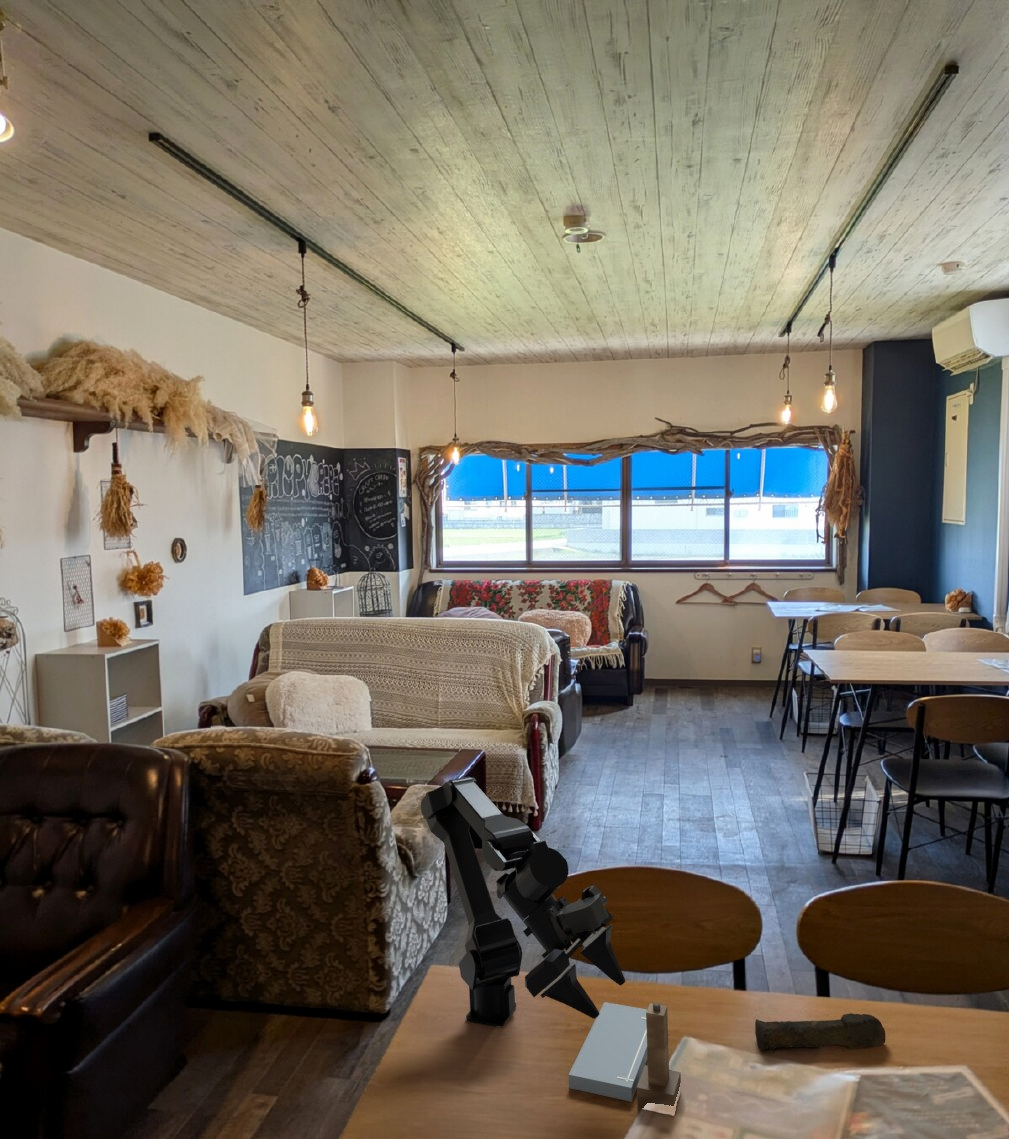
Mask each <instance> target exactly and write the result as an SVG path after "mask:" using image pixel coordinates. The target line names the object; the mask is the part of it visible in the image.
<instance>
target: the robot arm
mask: <svg viewBox="0 0 1009 1139" xmlns="http://www.w3.org/2000/svg"><path fill="white" fill-rule="evenodd" d="M420 811H421V814H422V817H423V819H424V820H426V823H427V825H428V827H429V828H428V829H429V831H430V833H432V834H433V835H434V837H436V838H438V839H439V840H440V841H441V842H442V843H443V845H444V848H445V852H446V855H447V857H448V858H447V859H448V862H449V864H450V867H451V872H452V874H453V878H454V881H455V884H456V887H457V890H458V893H459V894H458V895H459V897H460V901H461V903H462V907H463V910H464V912H465V913H464V914H465V916H466V920H467V923H468V929H467V933H466V938H465V942H464V947H465V952H466V953H465V955H464V956H463V957H462V959H461V960H460V961H459V963H458V968H459V974H460V978H461V979H462V980H463V981H464V983H465V984H467V986H468V992H469V1011H468V1013H466V1016H465V1020H466V1019H467V1020H466V1021H468V1020H469V1021H470V1022H474V1023H479V1024H483V1025H491V1026H495V1027H499V1028H500V1027H501V1028H502V1027H504V1025H505V1024H506V1022H507V1021H508V1020H509V1018H511V1016H512V1014H513V1013H514V1011H515V1009H516V1008H517V1002H516V995H515V985H514V984H512V978H514V977H519V976H520V972H521V965H522V959H523V950H522V949H523V948H522V946H521V945H520V942H519V940H518V939H517V937H516V934H515V931H514V927H513V923H512V922H511V920H510V919H509V918H507V917H505V918H503V917H501V916H500V915H499V914H498V913H497V912H496V909H495V906H494V904H493V900H492V897H491V894H490V891H489V888H488V885H487V882H486V878H485V875H484V872H483V870H482V867H481V864H480V861H479V858H478V854H477V852H476V848H475V846H474V841H473V839H472V836H471V833H470V827H471V828H472V829H473V830H474V831H475V833H477V835H478V837H479V838H480V840H481V841H482V846H481V853H482V855H483V857H484V861H485V862H486V864H487V865H489V867H490V868H491V869H492V870H493V871H495V872H498V871H499V872H503V871H508V870H512V869H514V870H513V871H512V872H510V873H507V872H504V873H503V874H502V875H501V876H500V877H499V878H498V879H496V880H495V882H496V896H497V898H498V899H499V900H501V899H502V898H504V899H505V901H506V902H507V903H508V904H509V905H510V907H511V908H512V909H513V911H514V913H516V915H517V916H518V917H519V918H520V920H521V921H522V922H523V924H524V925H525V927H526V928H525V929H523V931H522V932H523V934H524V935H525V936H526V937H527V938H529V937H530V935H533V936H534V938H535V939H536V940H537V941H538V943H539V944H540V946H541V947H542V948H543V949H544V950H545V951H544V953H542V954H541V957H542V958H543V959H541V961H539V962H538V963H537V964H536V965H535V966H534V967H533V968H532V969H531V970H530V971H529V972H528V973H527V974H526V975H525V976H524V987H525V988H526V989H527V991H528V992H529V993H530V994H531V996H532V997H533V998H536V997H537V996H538V995H540V997H541V998H543V999H544V998H546V997H547V998H549V999H551V1000H555V1001H556V1002H559V1003H561V1004H564V1005H566V1006H567V1007H570V1008H572V1009H574V1010H576V1011H578V1012H580V1013H581V1014H584V1015H585V1016H588V1017H590V1018H592V1019H593V1020H596V1018H597V1017H598V1016H599V1012H600V1010H598V1008H597V1007H596V1005H595V1003H594V1001H593V1000H592V999H591V997H590V995H589V994H588V992H586V990H585V988H584V987H583V986H582V984H581V983H580V981H579V980H578V978H577V967H576V963H575V964H574V963H573V965H572V966H571V963H570V957H571V956H573V955H574V953H575V952H577V951H578V950H579V948H582V947H583V949H582V950H581V951H580V952H579V953H580V954H581V955H582V956H583V957H584V958H586V959H587V960H588V961H589V962H591V964H593V965H594V966H595V967H596V968H597V969H598V970H600V971H601V972H602V973H603V974H604V975H606V976H607V978H609V979H611V980H612V981H613V982H614V983H615V984H618V986H622V985H624V984H625V983H626V978H625V976H624V973H623V971H622V969H621V967H620V963H619V961H618V959H617V956H616V954H615V951H614V950H613V949H614V948H613V946H612V943H611V936H612V935H611V934H612V929H613V924H612V923H610V922H611V921H612V920H613V919H614V917H613V915H612V914H611V913H610V912H609V910H608V909H607V908H606V907H605V906H606V904H608V898H607V897H606V896H605V895H604V894H603V892H601V891H600V890H599V888H597V887H596V885H591V886H587V887H586V888H585V889H583V891H581V898H578V900H576V901H575V902H569V901H568V900H567V898H566V897H563V896H562V895H561V896H560V897H559V898H558V899H557V898H556V897H555V895H554V893H555V892H556V891H557V890H558V889H559V888H560V887H561V886H562V885H563V884H565V882H566V881H567V880H568V876H569V864H568V861H567V859H566V857H565V858H564V855H563V854H562V853H560V851H558V850H556V849H554V848H552V847H549V846H548V843H547V841H546V839H542V840H540V838H539V837H538V836H537V835H536V833H534V831H532V829H531V828H530V827H529V826H528V825H527V824H525V823H524V822H523V821H521V820H520V819H519V818H513V817H511V816H506V815H504V814H503V812H501V811H500V809H499V808H498V807H497V806H496V805H495V804H494V803H493V802H492V800H491V799H490V798H489V797H488V796H487V795H486V793H485V792H483V790H482V789H481V788H480V787H479V785H478V782H477V779H476V778H475V777H473V776H472V777H471V776H465V777H459V778H453V779H449V780H448V781H446V782H444V783H443V785H441V786H439V787H437V788H435V789H433V790H428V791H426V793H425V796H423V797H422V799H421V802H420ZM608 924H610V925H608ZM607 925H608V926H607ZM541 992H542V993H541Z"/></svg>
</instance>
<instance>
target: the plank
mask: <svg viewBox="0 0 1009 1139" xmlns="http://www.w3.org/2000/svg"><path fill="white" fill-rule="evenodd" d="M646 1012H647V1009H644V1008H639V1007H634V1006H628V1005H625V1004H624V1005H623V1004H616V1003H612V1002H606V1001H604V1002H603V1004H602V1007H601V1008H600V1010H599V1016H598V1017H597V1018H595V1019H594V1022H593V1024H592V1026H591V1029H590V1030H589V1032H588V1034H587V1037H586V1039H585V1040H584V1042H583V1045H582V1047H581V1048H580V1050H579V1052H578V1054H577V1057H576V1059H575V1061H574V1063H573V1065H572V1067H571V1069H570V1071H569V1073H568V1089H571V1090H576V1091H582V1092H585V1093H589V1094H590V1093H591V1094H594V1095H595V1094H596V1095H600V1096H604V1097H609V1098H613V1099H617V1100H621V1101H622V1100H623V1101H626V1102H632V1103H633V1100H634V1098H635V1094H636V1093H637V1085H638V1082H639V1080H640V1077H641V1074H642V1071H643V1069H644V1066H645V1065H646V1064H647V1063H648V1058H647V1025H646Z"/></svg>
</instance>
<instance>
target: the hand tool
mask: <svg viewBox="0 0 1009 1139" xmlns="http://www.w3.org/2000/svg"><path fill="white" fill-rule="evenodd" d="M754 1028H755V1029H754V1030H755V1032H754V1035H755V1039H756V1042H757V1046H758V1048H759V1050H760V1051H761V1052H763V1051H765V1050H766V1049H769V1050H770V1051H772V1052H773V1051H774V1050H775V1049H778V1048H779V1049H780V1048H800V1047H801V1048H804V1047H805V1048H810V1047H811V1048H812V1047H817V1048H818V1047H819V1048H820V1047H832V1046H833V1047H834V1046H838V1047H845V1048H846V1049H848V1050H851V1051H854V1050H863V1049H869V1048H870V1049H871V1048H873V1047H877V1046H881V1045H884V1044H885V1043H886V1036H887V1035H886V1030H885V1027H883V1024H882V1022H881V1021H880V1020H879V1019H878V1018H877V1017H875V1016H874V1015H872V1014H867V1013H862V1014H861V1013H845V1014H842V1016H841V1017H840V1019H831V1020H828V1019H827V1020H800V1021H797V1020H795V1021H791V1020H788V1021H776V1020H775V1021H763V1020H760V1019H755V1023H754Z"/></svg>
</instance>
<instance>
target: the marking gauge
mask: <svg viewBox="0 0 1009 1139" xmlns="http://www.w3.org/2000/svg"><path fill="white" fill-rule="evenodd" d="M646 1010H647V1012H646V1025H647V1058H648V1059H647V1065H645V1066H644V1069H643V1071H642V1074H641V1077H640V1080H639V1082H638V1085H637V1089H636V1102H637V1103H636V1107H637V1109H638V1110H642V1108H644V1106H645V1105H646V1104H647V1103H655V1104H664V1105H669V1106H670V1105H671V1106H674V1104H675V1101H676V1097H677V1094H678V1091H679V1087H680V1083H681V1084H682V1080H681V1078H682V1077H681V1072H680V1071H676V1070H673V1069H671V1070H670V1059H669V1058H670V1057H669V1056H670V1055H669V1050H670V1049H669V1024H668V1022H669V1019H668V1016H669V1014H668V1005H662V1004H660V1003H658V1002H655V1003H654V1002H653V1003H652V1002H650V1003H649V1004H648V1007H647V1009H646Z"/></svg>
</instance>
